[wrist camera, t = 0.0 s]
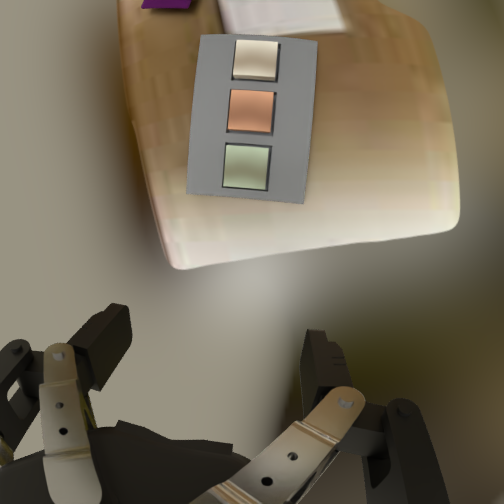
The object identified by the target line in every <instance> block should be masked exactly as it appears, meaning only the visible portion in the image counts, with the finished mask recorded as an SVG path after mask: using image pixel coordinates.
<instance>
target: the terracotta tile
mask: <svg viewBox="0 0 504 504" xmlns="http://www.w3.org/2000/svg"><path fill="white" fill-rule="evenodd" d="M273 95H274V92H265V91H251V90H231V99H230V109H229V120H228V129H229V130H234V131H249V132H262V133H270V129H271V118H272V107H273Z"/></svg>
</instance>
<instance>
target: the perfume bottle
mask: <svg viewBox="0 0 504 504" xmlns="http://www.w3.org/2000/svg"><path fill="white" fill-rule="evenodd" d="M190 3H191V0H144V1H143V4H142V6H141V8H142V9H148V8H186V9H187V8H188V7H189V5H190Z"/></svg>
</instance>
